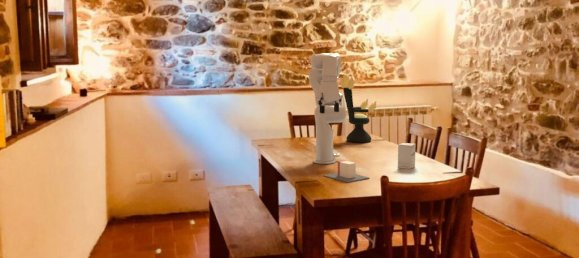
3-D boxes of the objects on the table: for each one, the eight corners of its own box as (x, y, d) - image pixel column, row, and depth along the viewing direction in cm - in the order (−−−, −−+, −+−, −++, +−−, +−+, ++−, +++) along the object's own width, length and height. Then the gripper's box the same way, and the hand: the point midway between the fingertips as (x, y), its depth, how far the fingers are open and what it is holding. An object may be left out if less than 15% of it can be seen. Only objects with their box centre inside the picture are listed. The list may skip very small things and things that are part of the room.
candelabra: (376, 142, 407) (377, 74, 401) (344, 144, 402) (345, 75, 396) (366, 138, 425) (367, 73, 419) (336, 139, 420) (336, 73, 414)
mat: (344, 172, 315) (344, 171, 315) (369, 178, 300) (369, 177, 300) (323, 176, 306) (323, 175, 306) (348, 182, 292) (348, 181, 292)
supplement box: (410, 169, 323) (411, 145, 321) (397, 167, 326) (397, 144, 325) (415, 166, 329) (416, 143, 327) (402, 165, 333) (402, 142, 331)
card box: (355, 177, 302) (355, 162, 301) (348, 178, 299) (348, 164, 298) (344, 174, 308) (344, 160, 307) (337, 175, 305) (337, 161, 304)
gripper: (337, 78, 323) (337, 110, 325) (311, 79, 313) (311, 113, 315) (347, 79, 317) (346, 112, 319) (321, 80, 307) (321, 114, 309)
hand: (329, 112), depth 317 cm, fingers open, 9 cm apart
